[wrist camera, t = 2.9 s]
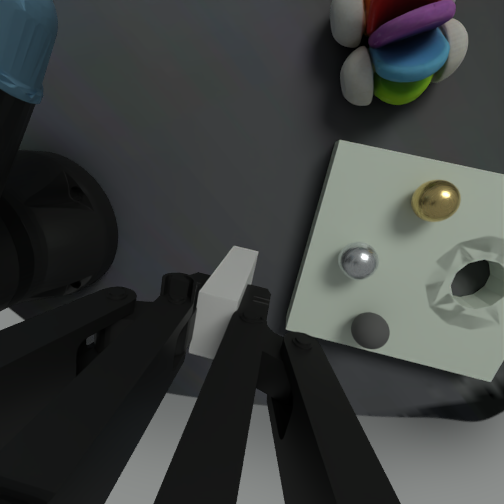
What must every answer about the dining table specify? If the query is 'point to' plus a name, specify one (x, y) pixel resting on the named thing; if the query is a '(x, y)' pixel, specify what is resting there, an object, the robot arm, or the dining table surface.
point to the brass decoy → (435, 200)
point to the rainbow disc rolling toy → (396, 47)
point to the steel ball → (358, 260)
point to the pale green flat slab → (406, 261)
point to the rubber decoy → (370, 330)
